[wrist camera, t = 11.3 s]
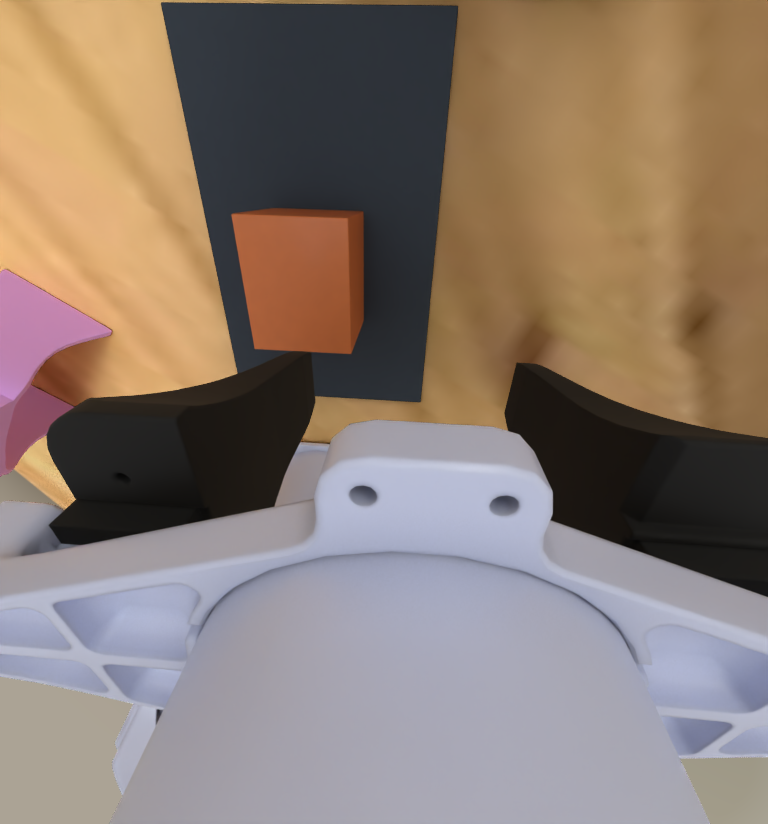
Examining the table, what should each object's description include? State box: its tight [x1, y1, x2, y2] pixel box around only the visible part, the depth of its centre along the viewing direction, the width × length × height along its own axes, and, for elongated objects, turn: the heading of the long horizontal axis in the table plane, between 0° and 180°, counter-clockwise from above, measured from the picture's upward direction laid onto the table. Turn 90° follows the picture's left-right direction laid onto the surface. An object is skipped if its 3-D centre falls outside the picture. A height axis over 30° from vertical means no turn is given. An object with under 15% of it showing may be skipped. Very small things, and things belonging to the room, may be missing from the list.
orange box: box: [231, 208, 364, 354], centre depth 17 cm, size 6×5×5 cm
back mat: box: [161, 2, 458, 402], centre depth 19 cm, size 18×12×1 cm, turn 178°
